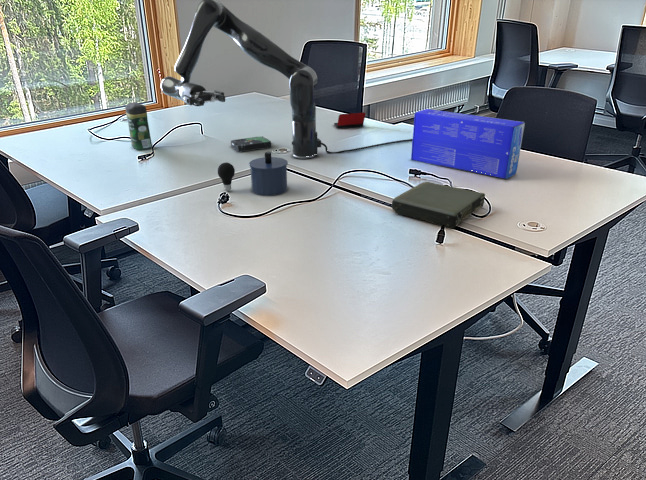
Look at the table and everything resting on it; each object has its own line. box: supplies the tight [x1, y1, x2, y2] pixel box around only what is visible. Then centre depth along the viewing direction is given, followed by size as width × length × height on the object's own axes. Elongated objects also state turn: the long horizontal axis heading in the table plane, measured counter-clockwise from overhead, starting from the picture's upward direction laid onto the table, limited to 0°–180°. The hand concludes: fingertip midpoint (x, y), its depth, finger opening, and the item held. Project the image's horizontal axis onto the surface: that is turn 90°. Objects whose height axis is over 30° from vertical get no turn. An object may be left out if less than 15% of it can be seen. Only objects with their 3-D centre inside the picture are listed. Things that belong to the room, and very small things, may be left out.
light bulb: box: [217, 161, 236, 192], centre depth 198 cm, size 6×6×10 cm
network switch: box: [391, 181, 486, 230], centre depth 178 cm, size 23×24×5 cm
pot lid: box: [248, 151, 289, 170], centre depth 196 cm, size 13×13×5 cm
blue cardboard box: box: [410, 108, 526, 180], centre depth 211 cm, size 39×8×18 cm, turn 47°
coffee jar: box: [125, 101, 153, 151], centre depth 247 cm, size 10×8×19 cm
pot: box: [250, 164, 288, 197], centre depth 199 cm, size 12×12×9 cm
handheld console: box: [333, 112, 366, 130], centre depth 269 cm, size 12×11×7 cm
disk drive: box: [230, 135, 272, 153], centre depth 246 cm, size 10×3×15 cm
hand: (213, 100), depth 207 cm, fingers open, 8 cm apart
